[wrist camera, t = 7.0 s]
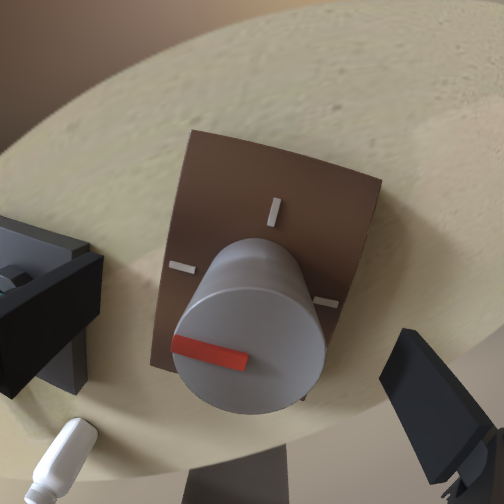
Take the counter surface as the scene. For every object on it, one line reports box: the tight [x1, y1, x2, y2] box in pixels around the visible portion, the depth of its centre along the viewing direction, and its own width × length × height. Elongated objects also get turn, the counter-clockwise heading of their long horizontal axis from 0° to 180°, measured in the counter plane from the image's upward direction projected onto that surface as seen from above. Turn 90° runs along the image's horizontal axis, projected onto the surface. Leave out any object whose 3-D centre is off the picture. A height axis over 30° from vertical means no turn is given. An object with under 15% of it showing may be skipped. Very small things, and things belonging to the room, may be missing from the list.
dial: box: [171, 238, 326, 415], centre depth 13 cm, size 5×5×7 cm
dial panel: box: [150, 130, 382, 401], centre depth 18 cm, size 14×10×3 cm
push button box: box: [0, 216, 89, 395], centre depth 18 cm, size 12×10×4 cm
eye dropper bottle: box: [24, 418, 98, 504], centre depth 18 cm, size 4×6×12 cm
